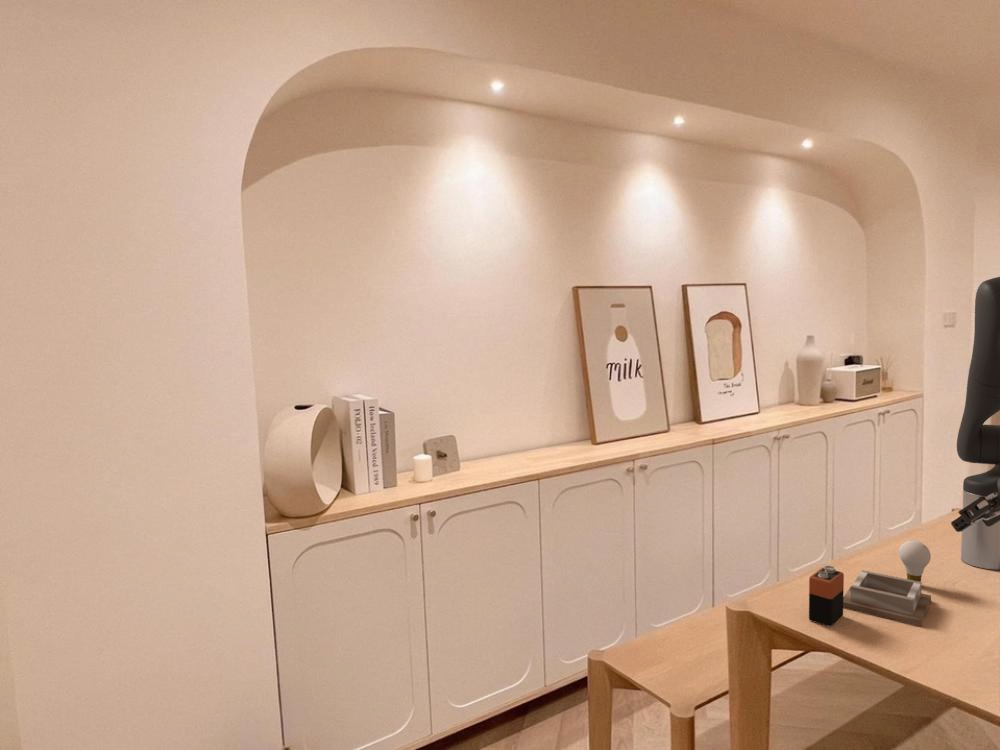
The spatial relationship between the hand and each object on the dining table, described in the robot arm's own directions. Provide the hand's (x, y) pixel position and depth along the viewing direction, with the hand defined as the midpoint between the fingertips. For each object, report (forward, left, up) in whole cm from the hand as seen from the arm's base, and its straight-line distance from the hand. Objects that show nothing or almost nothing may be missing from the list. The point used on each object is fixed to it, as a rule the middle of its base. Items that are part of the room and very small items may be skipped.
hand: (970, 525), depth 129 cm
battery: (+22, -21, -17) cm, 35 cm away
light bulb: (-6, -10, -17) cm, 21 cm away
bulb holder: (+8, -13, -17) cm, 23 cm away
